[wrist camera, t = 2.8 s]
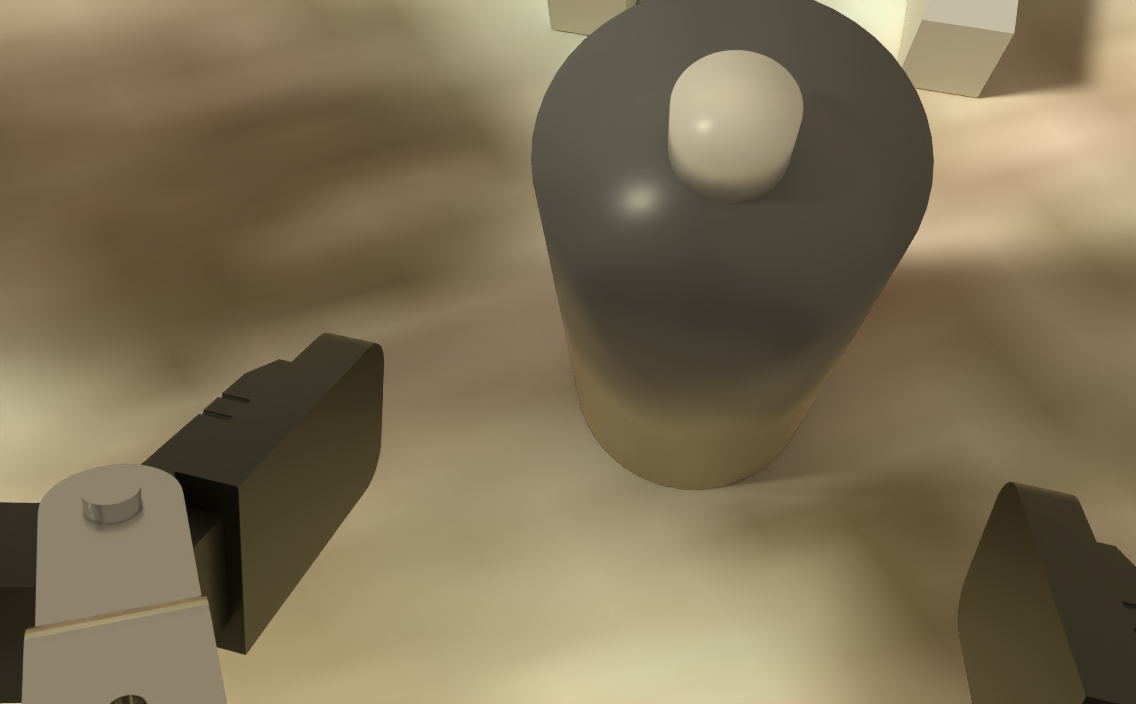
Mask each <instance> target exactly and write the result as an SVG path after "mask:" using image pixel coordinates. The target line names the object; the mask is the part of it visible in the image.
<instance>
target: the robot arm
mask: <svg viewBox="0 0 1136 704" xmlns="http://www.w3.org/2000/svg"><path fill="white" fill-rule="evenodd" d="M383 374H384V356H383V350H382V348H381V346H380V345H379V344H377V343H372V342H367V341H363V340H358V339H354V338H349V337H344V336H340V335H335V334H330V333H324V334H322V335H320V336H319V337H318V338H317V339H316V340H315V341H314V342H313V343H312V344H310V345H309V346H308V347H307V348H306V349H305V350H304V351H303V352H302V353H301V354H300V355H299V356H298V357H297V358H295V359H294V360H293V361H292V362H289V361H284V360H280V359H279V360H277V361H274V362H272V363H269V364H267V365H265V366H262V367H260V368H257V369H255V370H253V371H250V372H248V373H245V374H244V375H243V376H242V377H241V378H239V379H238V380H237V381H236V382H235V383H234V384H233V385H231V386H230V387H229V388H228V389H227V390H226V391H225V392H223V393H222V397H221V398H219V397H218V398H217V399H215V400H214V401H213V402H212V403H211V404H210V405H209V406H207V407H206V408H205V409H204V412H203V414H198V415H197V416H196V417H195V418H194V419H193V420H191V421H190V422H189V423H188V424H187V425H186V426H185V427H183V428H182V429H181V430H180V431H179V432H178V433H177V434H175V435H174V436H173V437H172V438H171V439H170V440H169V441H167V442H166V443H165V444H164V445H163V446H162V447H161V448H159V449H158V450H157V451H156V452H155V453H154V454H153V455H151V456H150V457H149V458H148V459H147V460H146V461H145V462H143V463H142V464H141V465H137V464H117V465H107V466H102V467H97V468H93V469H89V470H86V471H83V472H80V473H77V474H75V475H73V476H71V477H69V478H67V479H65V480H63V481H61V482H60V483H58V484H57V485H55V486H54V487H53V488H52V489H51V490H50V491H48V493H47V494H46V495H45V496H44V497H43V499H42V501H41V503H5V502H0V703H22V704H227V701H226V696H225V690H224V685H223V679H222V674H221V669H220V663H219V658H218V652H217V647H218V648H222V649H226V650H229V651H233V652H237V653H240V654H244V655H246V654H247V653H248V651H249V650H250V648H251V647H252V646H253V644H254V643H255V642H256V640H257V639H258V637H259V636H260V635H261V633H262V632H263V631H264V629H265V628H266V626H267V625H268V624H269V622H270V621H271V620H272V618H273V617H274V615H275V614H276V613H277V611H278V610H279V609H280V607H281V606H282V605H283V603H284V602H285V600H286V599H287V598H288V596H289V595H290V594H291V592H292V591H293V589H294V588H295V587H296V585H297V584H298V583H299V581H300V580H301V578H302V577H303V576H304V574H305V573H306V572H307V570H308V569H309V567H310V566H311V565H312V563H313V562H314V561H315V559H316V558H317V557H318V555H319V554H320V552H321V551H322V550H323V548H324V547H325V546H326V544H327V543H328V541H329V540H330V539H331V537H332V536H333V535H334V533H335V532H336V530H337V529H338V528H339V526H340V525H341V524H342V522H343V521H344V519H345V518H346V517H347V515H348V514H349V513H350V511H351V510H352V508H353V507H354V506H355V504H356V503H357V502H358V500H359V499H360V498H361V496H362V495H363V493H364V492H365V491H366V489H367V488H368V486H369V484H370V482H371V480H372V478H373V475H374V473H375V470H376V466H377V463H378V459H379V454H380V448H381V429H382V401H383ZM958 630H959V637H960V642H961V647H962V652H963V657H964V662H965V668H966V673H967V678H968V683H969V688H970V694H971V699H972V704H1136V567H1135V566H1134V565H1133V564H1132V563H1131V562H1130V561H1129V560H1128V559H1127V558H1126V557H1125V556H1124V555H1123V554H1122V552H1121V551H1120V550H1119V549H1118V548H1117V547H1116V546H1112V545H1107V544H1103V543H1098V542H1096V540H1095V537H1094V535H1093V533H1092V530H1091V528H1090V526H1089V523H1088V521H1087V519H1086V516H1085V514H1084V512H1083V509H1082V507H1081V505H1080V502H1079V500H1078V499H1077V498H1076V497H1075V496H1073V495H1069V494H1065V493H1060V492H1055V491H1051V490H1046V489H1042V488H1037V487H1032V486H1028V485H1023V484H1018V483H1014V482H1008V483H1007V484H1005V485H1004V487H1003V488H1002V489H1001V491H1000V493H999V495H998V497H997V499H996V502H995V504H994V507H993V509H992V512H991V514H990V517H989V520H988V522H987V525H986V527H985V530H984V532H983V535H982V537H981V540H980V542H979V545H978V548H977V550H976V553H975V555H974V558H973V560H972V563H971V565H970V568H969V571H968V573H967V576H966V578H965V581H964V584H963V588H962V592H961V596H960V602H959V610H958Z"/></svg>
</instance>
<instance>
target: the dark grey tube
mask: <svg viewBox="0 0 1136 704" xmlns="http://www.w3.org/2000/svg"><path fill="white" fill-rule="evenodd" d="M531 162H532V174H533V184H534V188H535V193H536V198H537V203H538V207H539V212H540V217H541V221H542V226H543V231H544V235H545V240H546V245H547V250H548V254H549V259H550V264H551V268H552V273H553V278H554V283H555V287H556V292H557V297H558V301H559V306H560V311H561V315H562V320H563V325H564V330H565V334H566V339H567V344H568V348H569V353H570V358H571V362H572V367H573V372H574V377H575V381H576V386H577V391H578V395H579V400H580V404H581V408H582V411H583V414H584V416H585V419H586V422H587V424H588V426H589V427H590V429H591V431H592V433H593V435H594V436H595V438H596V439H597V440H598V442H599V443H600V444H601V446H602V447H603V448H604V449H605V450H606V452H607V453H608V454H609V455H610V456H611V457H612V458H613V459H614V460H616V461H617V462H618V463H619V464H621V465H622V466H623V467H624V468H626V469H628V470H629V471H631V472H632V473H634V474H636V475H637V476H639V477H642V478H644V479H646V480H648V481H651V482H653V483H656V484H660V485H663V486H667V487H672V488H678V489H691V490H701V489H711V488H717V487H721V486H726V485H730V484H732V483H735V482H738V481H740V480H743V479H745V478H747V477H749V476H751V475H752V474H754V473H756V472H758V471H759V470H761V469H762V468H763V467H765V466H766V465H767V464H769V463H770V462H771V461H772V460H773V459H774V458H775V457H776V456H777V455H778V454H779V453H780V452H781V451H782V450H783V449H784V447H785V446H786V445H787V443H788V442H789V441H790V439H791V438H792V436H793V434H794V433H795V431H796V430H797V428H798V426H799V425H800V423H801V421H802V420H803V418H804V417H805V415H806V413H807V412H808V410H809V408H810V407H811V405H812V404H813V402H814V400H815V399H816V397H817V395H818V394H819V392H820V390H821V389H822V387H823V386H824V384H825V382H826V381H827V379H828V377H829V376H830V374H831V373H832V371H833V369H834V368H835V366H836V364H837V363H838V361H839V359H840V358H841V356H842V355H843V353H844V351H845V350H846V348H847V346H848V345H849V343H850V342H851V340H852V338H853V337H854V335H855V333H856V332H857V330H858V329H859V327H860V325H861V324H862V322H863V320H864V319H865V317H866V315H867V314H868V312H869V311H870V309H871V307H872V306H873V304H874V302H875V301H876V299H877V298H878V296H879V294H880V293H881V291H882V289H883V288H884V286H885V284H886V283H887V281H888V280H889V278H890V276H891V275H892V273H893V271H894V270H895V268H896V267H897V265H898V263H899V262H900V260H901V258H902V257H903V255H904V254H905V252H906V250H907V248H908V247H909V245H910V243H911V242H912V240H913V238H914V236H915V235H916V233H917V231H918V229H919V227H920V224H921V221H922V219H923V216H924V214H925V211H926V209H927V205H928V201H929V196H930V192H931V187H932V179H933V164H934V158H933V147H932V137H931V132H930V128H929V124H928V120H927V116H926V113H925V110H924V108H923V105H922V103H921V101H920V98H919V96H918V93H917V91H916V90H915V88H914V86H913V84H912V83H911V81H910V79H909V77H908V76H907V74H906V72H905V71H904V70H903V68H902V67H901V66H900V65H899V63H898V62H897V61H896V59H895V58H894V57H893V55H892V54H891V53H890V52H889V51H888V50H887V49H886V48H885V47H884V46H883V45H882V44H881V43H880V42H879V41H878V40H877V39H876V38H875V37H874V36H872V35H871V34H870V33H869V32H867V31H866V30H865V29H863V28H862V27H861V26H860V25H858V24H857V23H856V22H854V21H852V20H851V19H849V18H847V17H846V16H844V15H842V14H841V13H839V12H837V11H836V10H834V9H832V8H830V7H827V6H825V5H823V4H821V3H819V2H816V1H814V0H646V1H643V2H641V3H639V4H637V5H635V6H633V7H631V8H629V9H627V10H625V11H623V12H621V13H620V14H618V15H617V16H615V17H613V18H612V19H610V20H609V21H607V22H606V23H604V24H602V25H601V26H600V27H599V28H598V29H596V30H595V31H594V32H593V33H592V34H590V35H589V36H588V37H587V38H586V39H584V40H583V42H582V43H581V44H580V45H579V46H578V47H577V48H576V49H575V50H574V51H573V52H572V53H571V54H570V55H569V56H568V58H567V59H566V61H565V62H564V63H563V65H562V66H561V68H560V69H559V70H558V72H557V73H556V75H555V76H554V78H553V80H552V82H551V84H550V86H549V88H548V90H547V91H546V93H545V96H544V98H543V101H542V104H541V107H540V109H539V112H538V115H537V119H536V124H535V129H534V133H533V140H532V156H531Z"/></svg>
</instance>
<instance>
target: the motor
mask: <svg viewBox="0 0 1136 704" xmlns="http://www.w3.org/2000/svg"><path fill="white" fill-rule="evenodd" d="M547 1H548V8H549V15H550V23H551V29H554V30H560V31H567V32H573V33H579V34H585V35H590V34H592V33H593V32H594V31H595V30H596V29H598V28H599V27H600V26H601V25H602V24H604V23H606V22H607V21H609V20H610V19H612V18H613V17H615V16H617V15H618V14H620V13H621V12H623V11H625V10H627V9H629V8H631V7H633V6H635V5H636V3H637V0H547ZM1017 8H1018V0H908V4H907V10H906V17H905V23H904V29H903V35H902V41H901V48H900V54H899V60H898V63H899V65H900V66H901V67H902V68H903V70H904V71H905V72H906V74H907V76H908V77H909V79H910V81H911V83H912V84H913V86H914V88H921V89H927V90H933V91H939V92H945V93H952V94H958V95H964V96H970V97H977V98H978V96H979V94H980V92H981V91H982V89H983V87H984V85H985V84H986V82H987V80H988V79H989V77H990V75H991V73H992V72H993V70H994V68H995V66H996V65H997V63H998V61H999V59H1000V58H1001V56H1002V54H1003V52H1004V51H1005V49H1006V47H1007V46H1008V44H1009V42H1010V40H1011V39H1012V37H1013V35H1014V32H1015V24H1016V16H1017Z"/></svg>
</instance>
